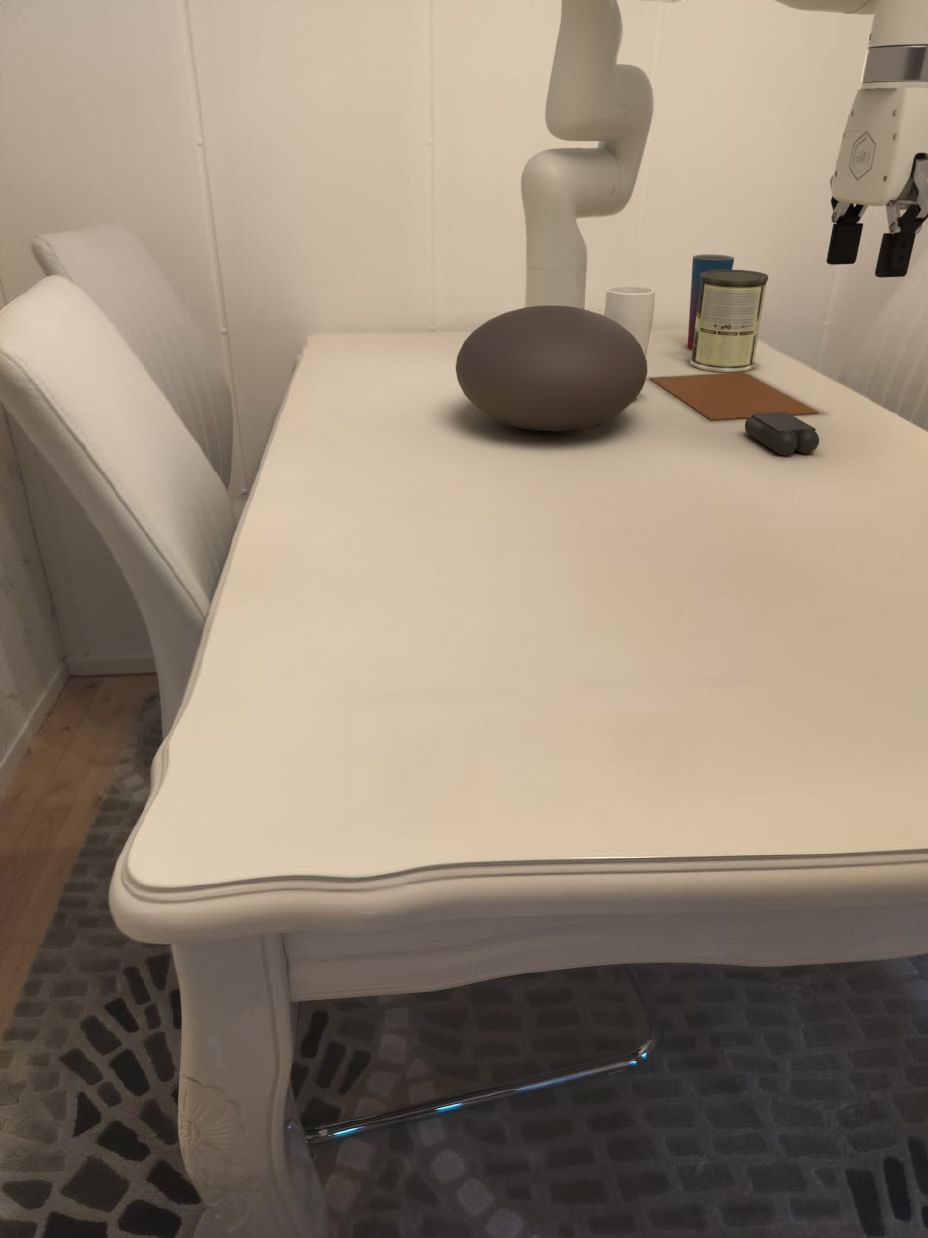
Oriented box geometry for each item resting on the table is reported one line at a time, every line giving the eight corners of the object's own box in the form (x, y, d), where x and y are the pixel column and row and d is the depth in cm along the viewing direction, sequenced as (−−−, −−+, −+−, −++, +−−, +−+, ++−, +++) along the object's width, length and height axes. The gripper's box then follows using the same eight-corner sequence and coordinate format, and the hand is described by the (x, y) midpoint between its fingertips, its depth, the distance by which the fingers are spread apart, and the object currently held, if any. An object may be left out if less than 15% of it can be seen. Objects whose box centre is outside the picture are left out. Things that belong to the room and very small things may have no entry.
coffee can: (678, 359, 149) (688, 270, 142) (733, 355, 152) (745, 267, 145) (709, 374, 141) (722, 280, 134) (766, 370, 143) (781, 277, 136)
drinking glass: (648, 393, 131) (659, 286, 124) (640, 406, 126) (651, 295, 118) (602, 389, 133) (610, 284, 126) (593, 401, 128) (601, 292, 120)
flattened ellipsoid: (602, 393, 131) (611, 287, 124) (672, 447, 110) (687, 323, 103) (439, 403, 127) (438, 294, 119) (479, 461, 106) (480, 333, 98)
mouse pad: (710, 420, 120) (711, 419, 120) (649, 378, 138) (649, 377, 138) (818, 413, 122) (819, 411, 122) (744, 373, 141) (744, 372, 141)
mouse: (777, 459, 106) (781, 435, 105) (739, 433, 115) (742, 410, 113) (821, 456, 107) (826, 431, 106) (780, 430, 116) (784, 408, 114)
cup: (722, 353, 153) (735, 260, 146) (682, 351, 154) (693, 259, 147) (720, 344, 159) (733, 254, 152) (682, 342, 160) (692, 253, 153)
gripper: (819, 74, 90) (788, 259, 98) (930, 66, 75) (882, 285, 84) (885, 75, 91) (849, 257, 100) (1007, 67, 76) (952, 282, 85)
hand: (864, 269), depth 92 cm, fingers open, 8 cm apart
